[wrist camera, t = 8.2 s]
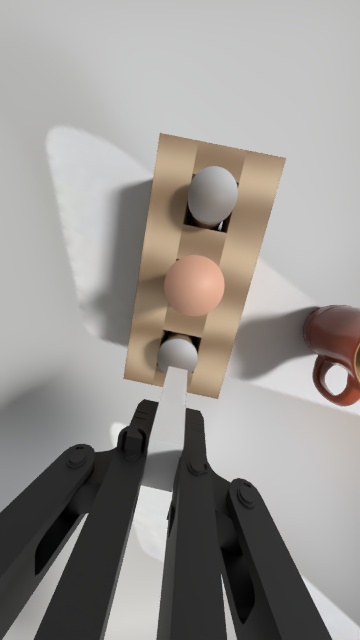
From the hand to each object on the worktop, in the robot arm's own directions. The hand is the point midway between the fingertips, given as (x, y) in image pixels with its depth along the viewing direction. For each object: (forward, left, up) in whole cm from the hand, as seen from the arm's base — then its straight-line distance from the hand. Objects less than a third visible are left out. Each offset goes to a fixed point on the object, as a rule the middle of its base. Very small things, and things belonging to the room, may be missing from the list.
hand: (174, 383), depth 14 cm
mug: (-4, +20, -15) cm, 25 cm away
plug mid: (-8, 0, -10) cm, 12 cm away
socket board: (-8, 0, -15) cm, 16 cm away
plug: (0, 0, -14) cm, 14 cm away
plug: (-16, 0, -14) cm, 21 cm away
